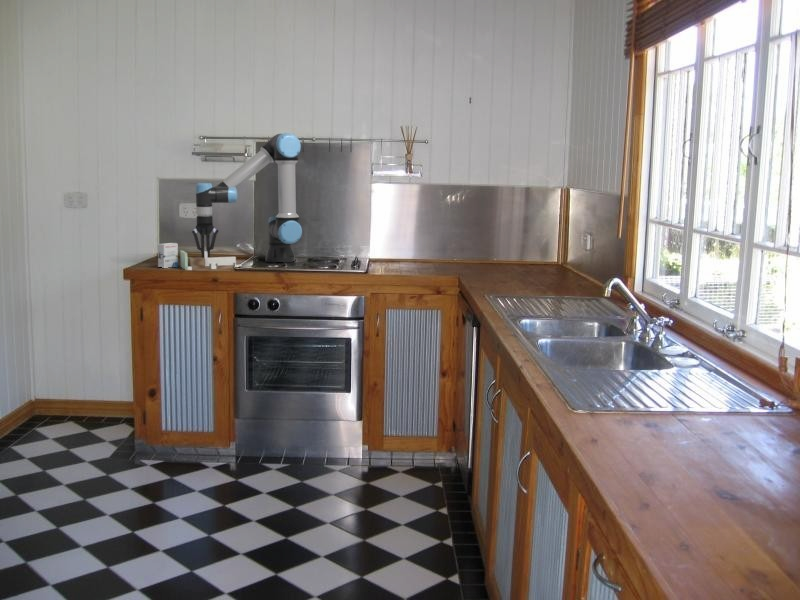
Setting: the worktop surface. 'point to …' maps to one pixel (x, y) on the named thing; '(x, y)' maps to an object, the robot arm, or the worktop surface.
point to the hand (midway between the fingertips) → (205, 264)
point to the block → (196, 262)
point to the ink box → (168, 255)
